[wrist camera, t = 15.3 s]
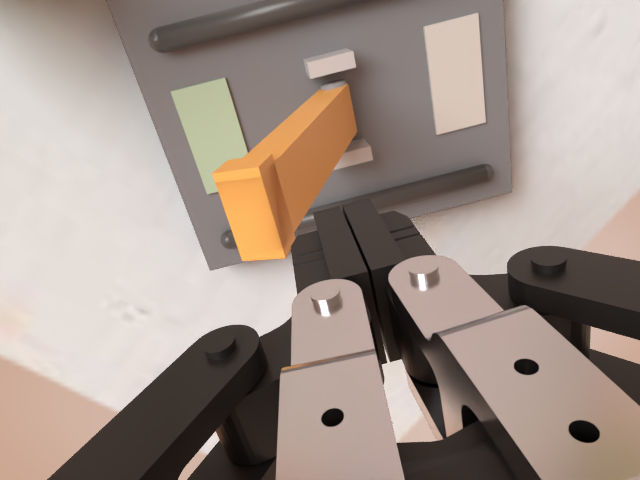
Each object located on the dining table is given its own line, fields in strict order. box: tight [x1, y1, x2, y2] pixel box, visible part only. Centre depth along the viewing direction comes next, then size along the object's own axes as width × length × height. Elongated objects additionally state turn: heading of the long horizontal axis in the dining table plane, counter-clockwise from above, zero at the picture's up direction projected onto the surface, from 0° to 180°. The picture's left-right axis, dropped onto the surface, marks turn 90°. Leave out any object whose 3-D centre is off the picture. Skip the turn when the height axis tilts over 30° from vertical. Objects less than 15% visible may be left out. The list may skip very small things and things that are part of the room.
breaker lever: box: [212, 79, 357, 261], centre depth 21 cm, size 2×3×14 cm, turn 13°
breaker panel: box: [106, 0, 512, 271], centre depth 27 cm, size 20×16×4 cm
